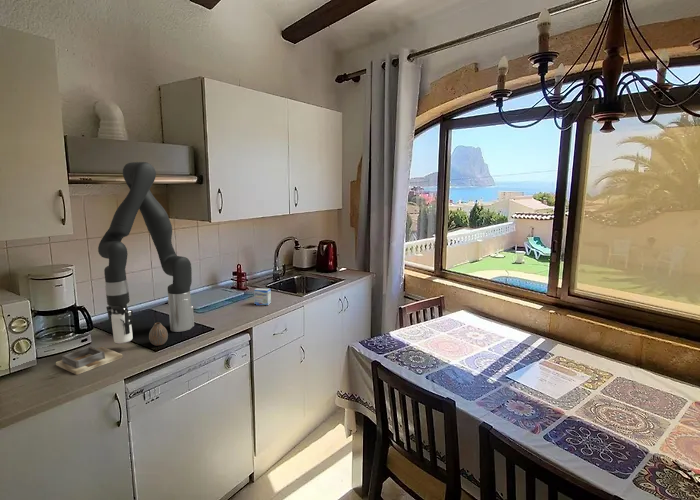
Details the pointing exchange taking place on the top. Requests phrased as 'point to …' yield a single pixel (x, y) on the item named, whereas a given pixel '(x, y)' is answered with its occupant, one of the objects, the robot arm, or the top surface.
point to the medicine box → (262, 296)
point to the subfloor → (87, 359)
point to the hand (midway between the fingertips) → (122, 333)
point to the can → (120, 329)
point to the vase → (158, 334)
